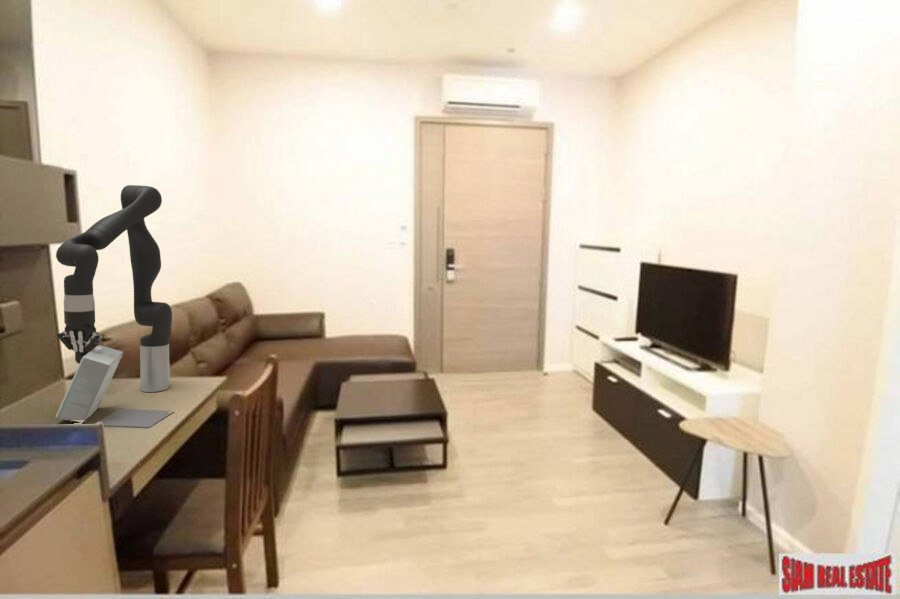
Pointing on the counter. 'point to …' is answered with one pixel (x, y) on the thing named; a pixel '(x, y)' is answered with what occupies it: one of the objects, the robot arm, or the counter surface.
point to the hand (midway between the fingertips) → (81, 362)
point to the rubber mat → (134, 418)
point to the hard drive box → (89, 383)
